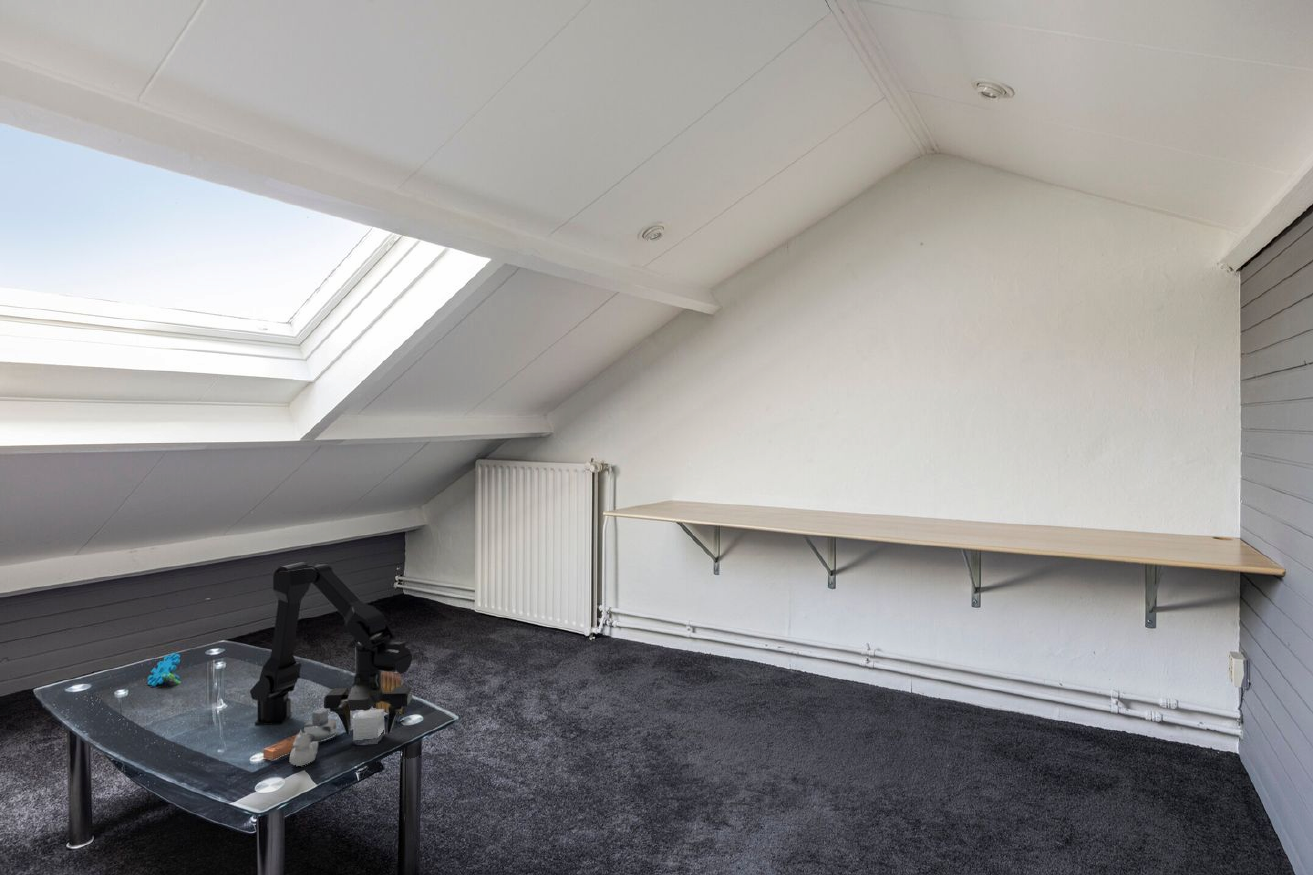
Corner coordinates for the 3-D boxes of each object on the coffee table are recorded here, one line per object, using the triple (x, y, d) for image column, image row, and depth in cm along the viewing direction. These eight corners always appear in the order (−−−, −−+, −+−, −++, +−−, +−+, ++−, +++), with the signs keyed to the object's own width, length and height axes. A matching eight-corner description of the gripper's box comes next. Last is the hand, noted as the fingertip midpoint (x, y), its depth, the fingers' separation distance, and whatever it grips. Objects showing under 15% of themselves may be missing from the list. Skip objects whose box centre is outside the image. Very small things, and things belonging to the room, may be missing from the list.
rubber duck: (282, 766, 167) (282, 730, 166) (309, 755, 173) (309, 719, 172) (299, 772, 164) (299, 735, 164) (325, 760, 170) (325, 724, 170)
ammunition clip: (371, 713, 197) (371, 666, 196) (378, 710, 198) (377, 664, 198) (398, 722, 191) (398, 674, 190) (404, 720, 192) (404, 672, 192)
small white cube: (353, 745, 177) (353, 718, 177) (360, 735, 183) (360, 709, 183) (378, 744, 178) (377, 718, 178) (384, 734, 183) (384, 708, 183)
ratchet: (321, 728, 187) (321, 703, 187) (343, 733, 184) (342, 708, 184) (257, 757, 171) (256, 730, 171) (279, 763, 168) (279, 736, 168)
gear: (142, 675, 219) (171, 646, 223) (159, 685, 222) (187, 657, 226) (150, 691, 211) (180, 660, 215) (168, 701, 214) (197, 671, 218)
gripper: (314, 680, 171) (315, 749, 172) (401, 678, 173) (401, 747, 173) (331, 663, 182) (332, 729, 183) (412, 662, 184) (413, 727, 184)
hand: (369, 733), depth 180 cm, fingers open, 9 cm apart
